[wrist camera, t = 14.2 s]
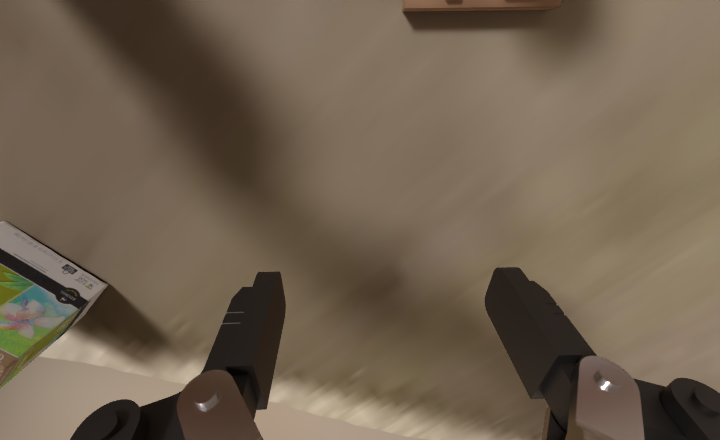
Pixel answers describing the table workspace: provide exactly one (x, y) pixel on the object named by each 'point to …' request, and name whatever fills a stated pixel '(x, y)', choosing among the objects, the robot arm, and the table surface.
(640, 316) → the table surface
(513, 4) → the divider base
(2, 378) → the tea box
